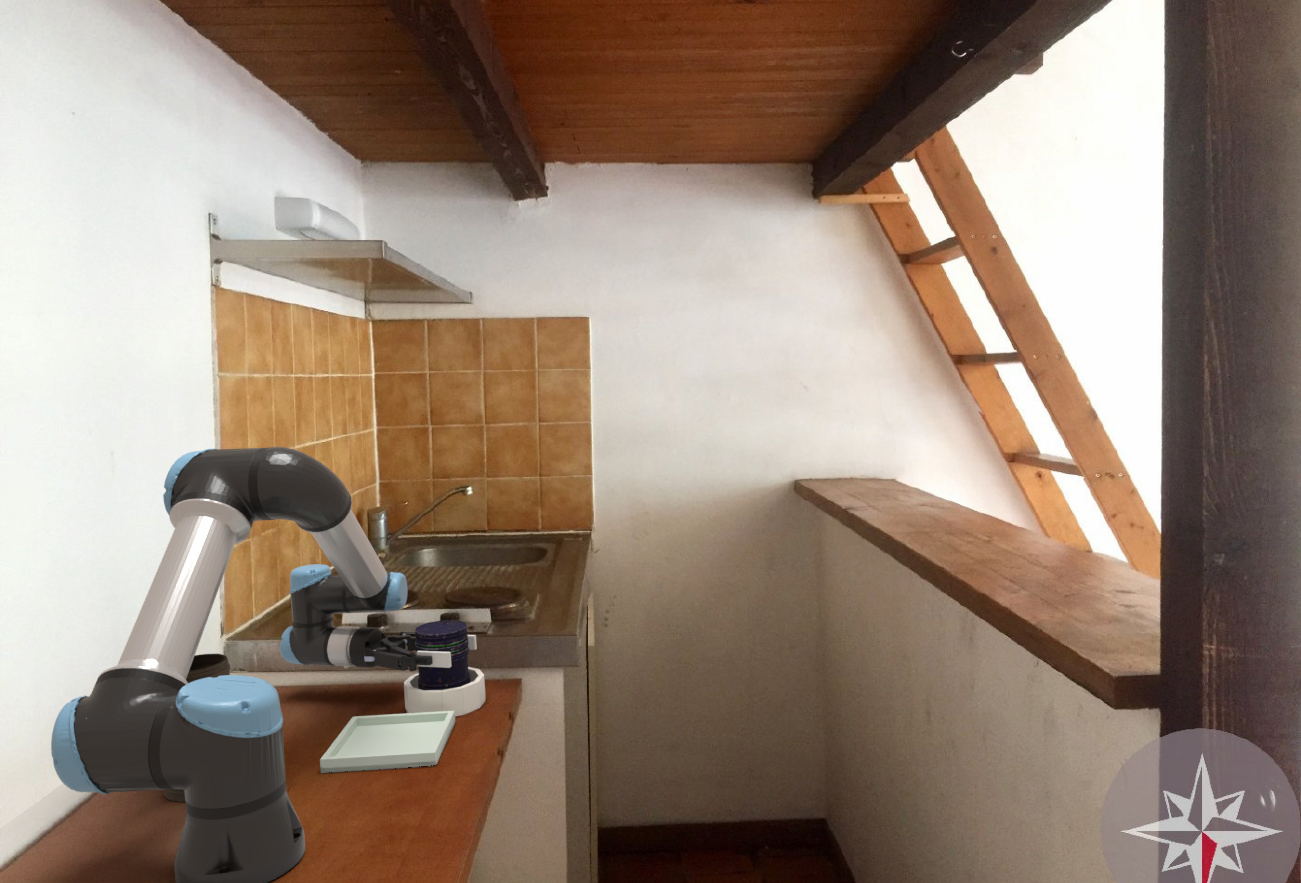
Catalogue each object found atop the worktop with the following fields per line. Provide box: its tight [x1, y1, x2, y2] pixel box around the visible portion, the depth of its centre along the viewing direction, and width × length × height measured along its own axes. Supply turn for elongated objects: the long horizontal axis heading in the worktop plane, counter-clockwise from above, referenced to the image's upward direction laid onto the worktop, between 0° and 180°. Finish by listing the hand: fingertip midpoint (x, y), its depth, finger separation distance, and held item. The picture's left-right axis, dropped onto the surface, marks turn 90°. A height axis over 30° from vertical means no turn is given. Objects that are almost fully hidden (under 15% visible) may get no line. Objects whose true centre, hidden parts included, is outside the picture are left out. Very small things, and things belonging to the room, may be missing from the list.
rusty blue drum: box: [414, 619, 471, 690], centre depth 166 cm, size 10×10×15 cm
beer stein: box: [163, 653, 231, 803], centre depth 135 cm, size 15×11×20 cm
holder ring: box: [403, 666, 487, 718], centre depth 166 cm, size 14×14×5 cm
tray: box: [319, 711, 456, 774], centre depth 147 cm, size 18×18×2 cm
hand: (463, 650), depth 164 cm, fingers closed on rusty blue drum, 10 cm apart
